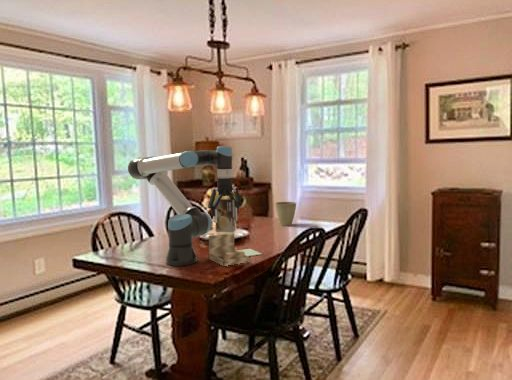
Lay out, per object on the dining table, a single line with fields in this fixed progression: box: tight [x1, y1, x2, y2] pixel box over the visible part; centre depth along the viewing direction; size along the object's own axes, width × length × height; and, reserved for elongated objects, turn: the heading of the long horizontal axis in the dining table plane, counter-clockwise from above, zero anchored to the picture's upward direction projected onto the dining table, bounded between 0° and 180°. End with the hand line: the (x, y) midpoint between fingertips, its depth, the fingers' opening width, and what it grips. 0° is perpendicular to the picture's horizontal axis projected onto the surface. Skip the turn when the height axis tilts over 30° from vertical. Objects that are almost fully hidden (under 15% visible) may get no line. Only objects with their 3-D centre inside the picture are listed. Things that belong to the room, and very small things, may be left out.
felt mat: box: [237, 248, 262, 257], centre depth 235 cm, size 12×13×1 cm
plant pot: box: [275, 201, 297, 227], centre depth 314 cm, size 15×15×16 cm
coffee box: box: [214, 198, 236, 233], centre depth 221 cm, size 9×6×16 cm
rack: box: [208, 232, 250, 267], centre depth 221 cm, size 14×17×12 cm
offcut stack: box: [221, 250, 245, 260], centre depth 216 cm, size 11×4×5 cm, turn 120°
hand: (225, 221), depth 221 cm, fingers closed on coffee box, 10 cm apart
